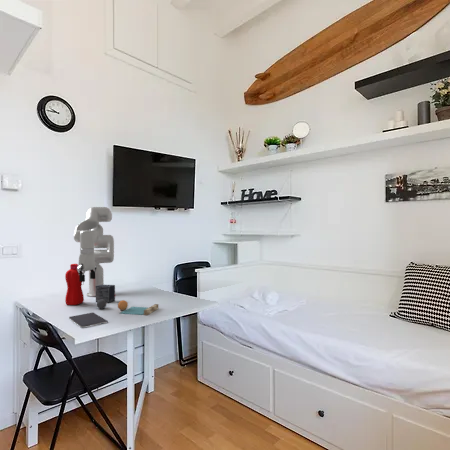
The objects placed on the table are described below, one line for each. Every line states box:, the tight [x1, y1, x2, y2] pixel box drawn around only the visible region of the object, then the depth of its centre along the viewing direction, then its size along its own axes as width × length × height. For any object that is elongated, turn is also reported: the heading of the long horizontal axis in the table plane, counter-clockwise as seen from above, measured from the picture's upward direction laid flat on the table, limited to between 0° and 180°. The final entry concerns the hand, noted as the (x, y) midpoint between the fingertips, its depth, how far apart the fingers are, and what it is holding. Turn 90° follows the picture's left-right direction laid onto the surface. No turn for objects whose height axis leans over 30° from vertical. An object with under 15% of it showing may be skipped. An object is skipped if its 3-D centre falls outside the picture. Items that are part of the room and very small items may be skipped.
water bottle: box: [64, 263, 85, 306], centre depth 201 cm, size 9×11×25 cm
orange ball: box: [117, 299, 129, 311], centre depth 185 cm, size 6×6×6 cm
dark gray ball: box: [96, 299, 107, 310], centre depth 189 cm, size 6×6×6 cm
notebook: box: [68, 311, 109, 328], centre depth 166 cm, size 13×2×21 cm
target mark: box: [119, 306, 149, 316], centre depth 183 cm, size 14×14×1 cm
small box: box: [95, 284, 116, 304], centre depth 206 cm, size 11×6×10 cm, turn 74°
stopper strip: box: [143, 303, 159, 316], centre depth 181 cm, size 14×2×2 cm, turn 167°
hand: (87, 280), depth 190 cm, fingers open, 9 cm apart
